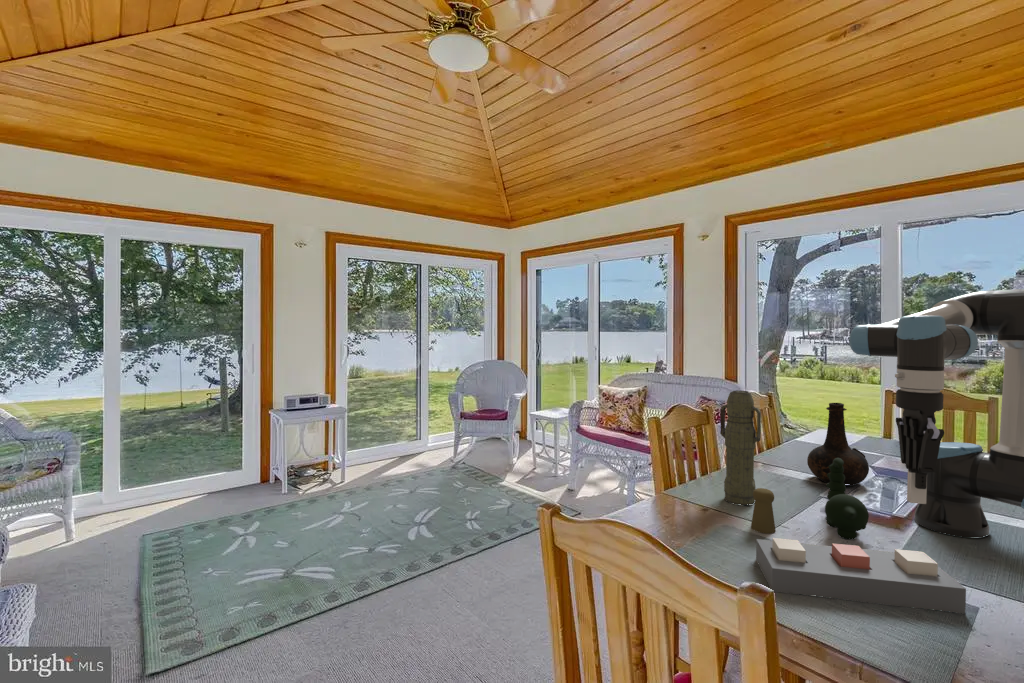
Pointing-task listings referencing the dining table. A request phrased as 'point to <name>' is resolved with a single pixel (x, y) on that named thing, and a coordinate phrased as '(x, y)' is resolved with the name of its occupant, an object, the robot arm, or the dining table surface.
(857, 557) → the middle key
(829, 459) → the glass bottle
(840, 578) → the key panel
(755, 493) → the cork
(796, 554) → the far key
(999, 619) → the dining table surface
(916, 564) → the near key
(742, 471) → the thermos
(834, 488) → the toy figurine
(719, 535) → the dining table surface
